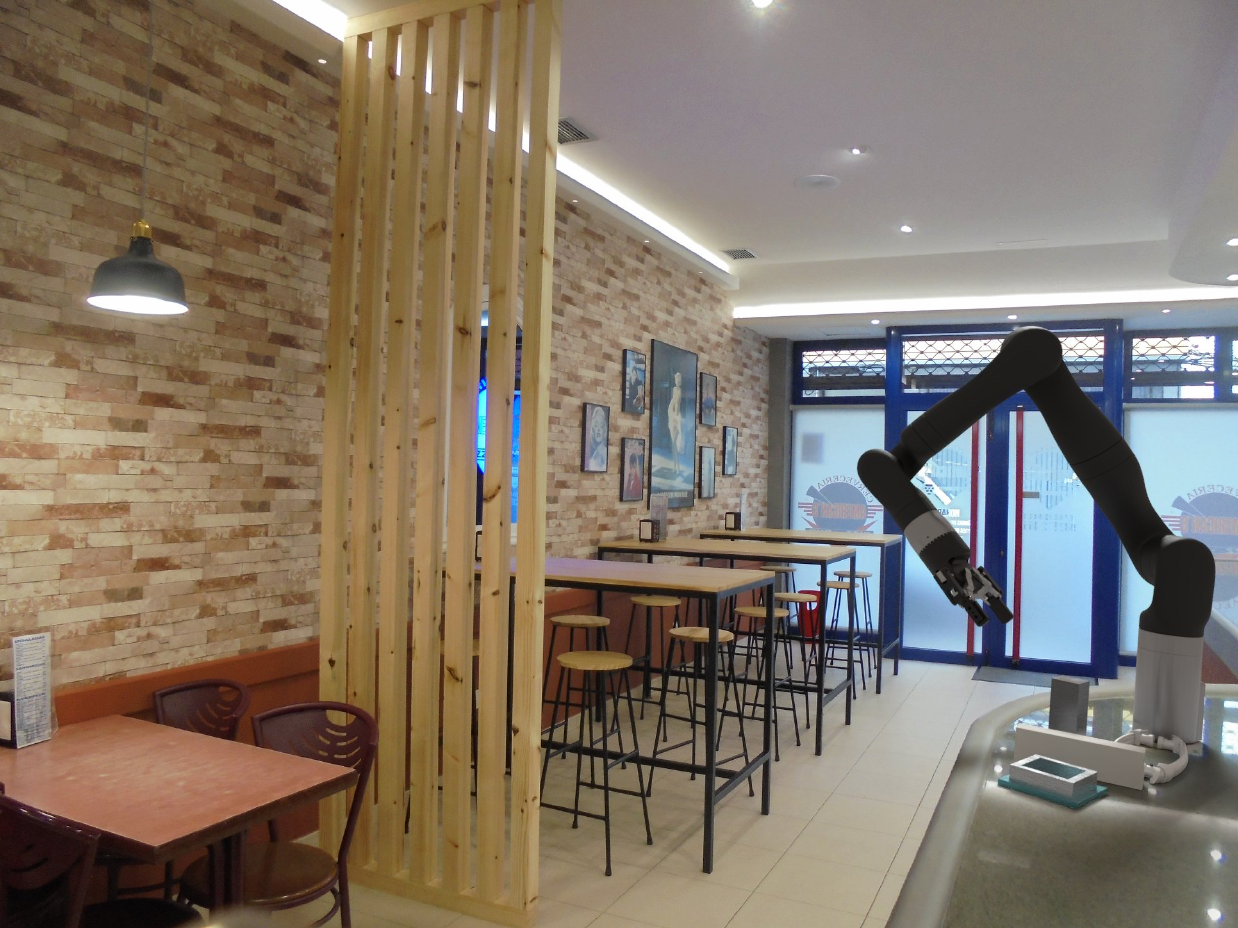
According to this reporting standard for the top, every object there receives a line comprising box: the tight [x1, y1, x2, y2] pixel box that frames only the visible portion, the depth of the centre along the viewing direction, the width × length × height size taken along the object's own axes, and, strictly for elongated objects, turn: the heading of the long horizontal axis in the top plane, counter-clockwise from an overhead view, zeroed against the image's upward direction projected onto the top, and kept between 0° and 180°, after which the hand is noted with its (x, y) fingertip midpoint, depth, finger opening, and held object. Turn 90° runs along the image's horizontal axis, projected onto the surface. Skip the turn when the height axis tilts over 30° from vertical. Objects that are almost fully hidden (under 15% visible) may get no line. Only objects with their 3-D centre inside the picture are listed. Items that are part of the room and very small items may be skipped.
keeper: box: [997, 754, 1109, 811], centre depth 118 cm, size 10×10×3 cm
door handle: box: [1113, 729, 1189, 785], centre depth 134 cm, size 3×10×25 cm
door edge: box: [1013, 722, 1147, 791], centre depth 125 cm, size 16×3×5 cm, turn 57°
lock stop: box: [1047, 674, 1091, 736], centre depth 135 cm, size 4×4×11 cm
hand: (997, 622), depth 144 cm, fingers open, 8 cm apart
